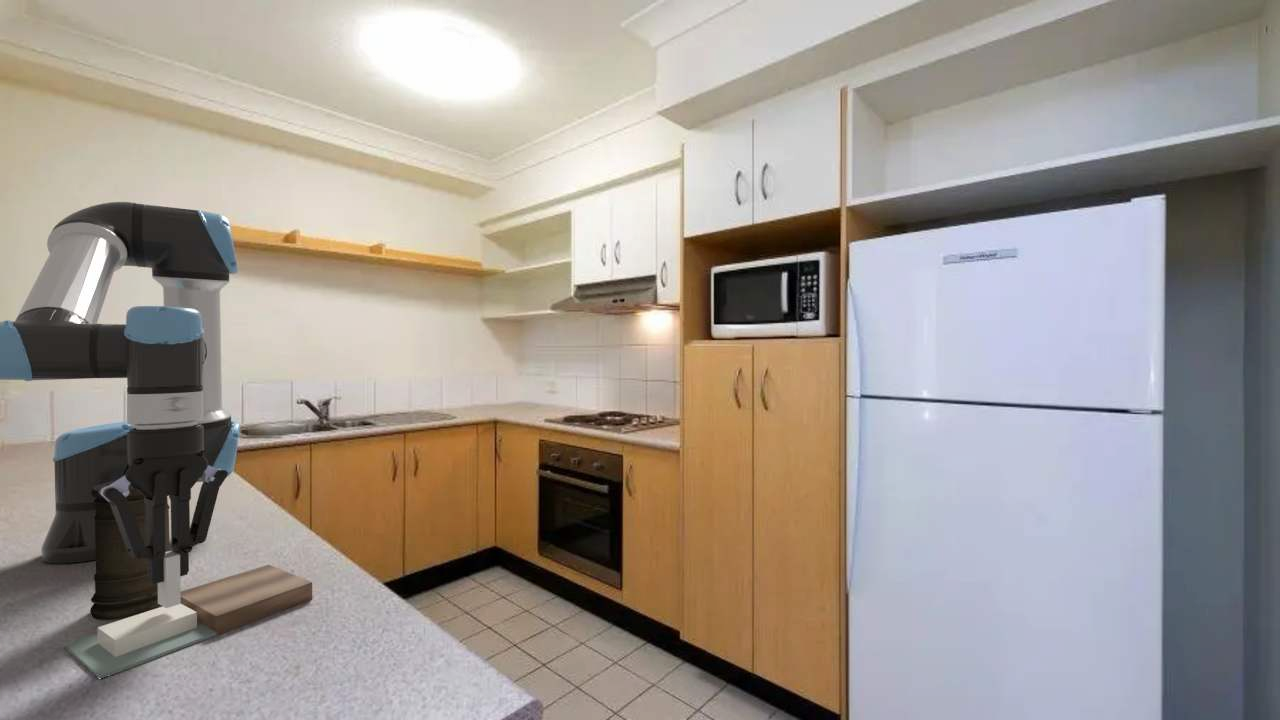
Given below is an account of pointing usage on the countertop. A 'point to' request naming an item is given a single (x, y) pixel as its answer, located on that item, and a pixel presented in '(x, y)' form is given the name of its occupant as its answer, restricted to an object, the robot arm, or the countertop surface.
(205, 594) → the board
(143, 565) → the container
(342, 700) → the countertop surface
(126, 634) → the block
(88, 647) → the mat
